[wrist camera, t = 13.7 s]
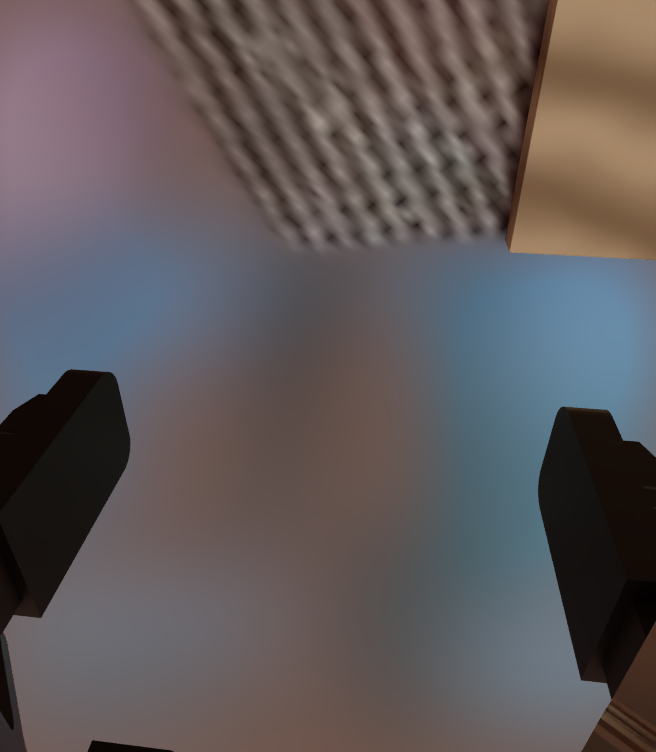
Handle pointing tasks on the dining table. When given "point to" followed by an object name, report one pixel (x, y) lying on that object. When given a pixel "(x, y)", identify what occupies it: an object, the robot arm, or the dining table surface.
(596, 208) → the board
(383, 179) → the dining table surface
